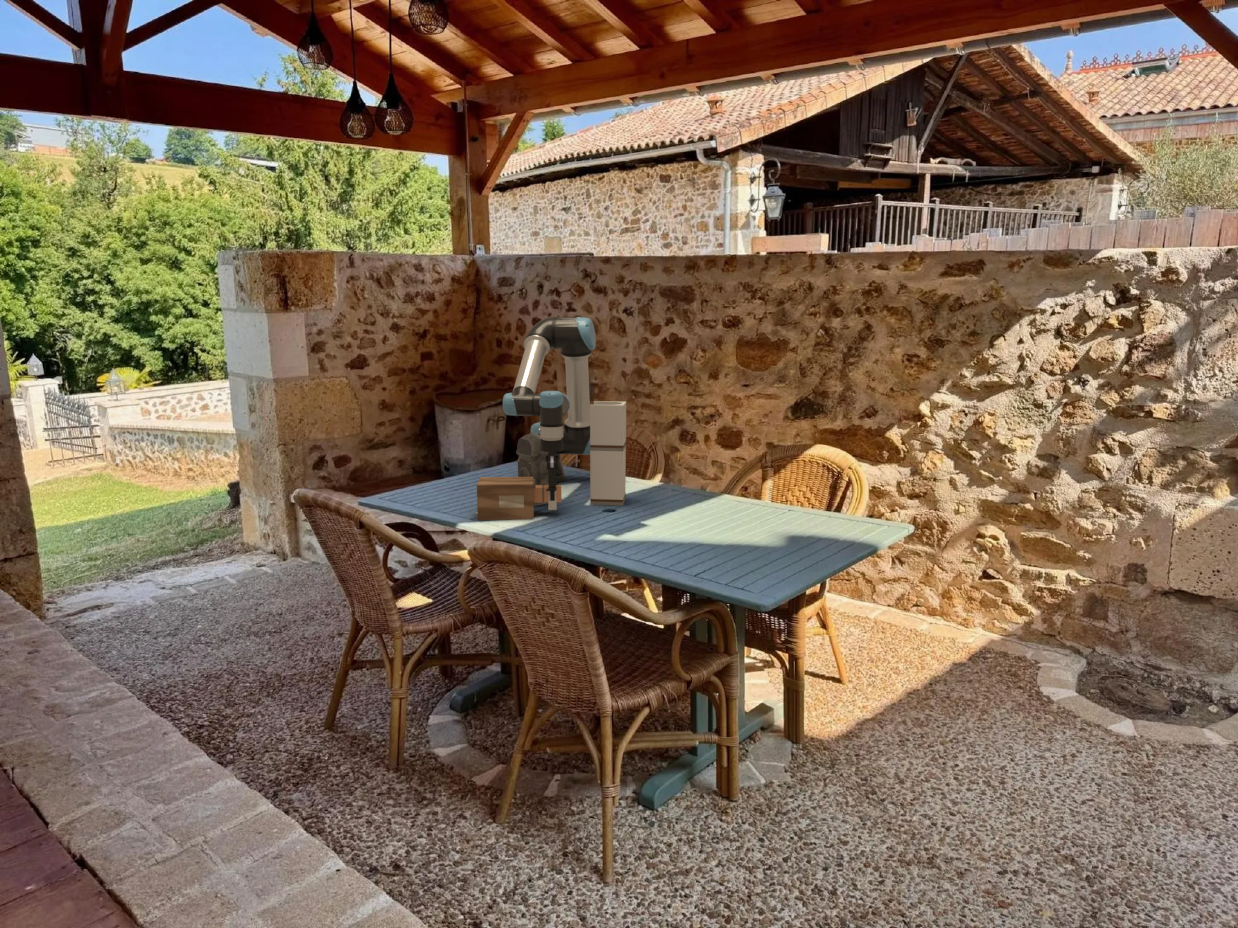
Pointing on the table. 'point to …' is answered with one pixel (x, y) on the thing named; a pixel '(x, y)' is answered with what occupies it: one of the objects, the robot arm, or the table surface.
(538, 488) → the orange banded bar
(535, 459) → the grey backpack
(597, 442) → the beige square tower
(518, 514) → the box
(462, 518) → the table surface
